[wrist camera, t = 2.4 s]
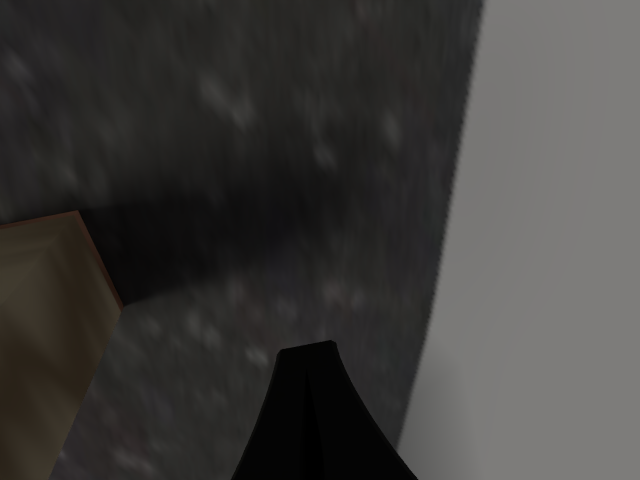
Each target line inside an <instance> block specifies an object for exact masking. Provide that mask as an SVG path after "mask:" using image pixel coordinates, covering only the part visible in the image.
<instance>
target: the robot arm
mask: <svg viewBox="0 0 640 480" xmlns="http://www.w3.org/2000/svg"><path fill="white" fill-rule="evenodd" d="M231 480H418V479H417V477H416V476H415V475H414V474H413V473H412V471H411V470H410V469H409V468H408V467H407V465H406V464H405V463H404V461H403V460H402V459H401V458H400V456H399V455H398V454H397V452H396V451H395V450H394V448H393V447H392V445H391V444H390V443H389V441H388V440H387V439H386V437H385V436H384V434H383V433H382V431H381V430H380V428H379V427H378V425H377V424H376V422H375V421H374V419H373V418H372V416H371V415H370V413H369V412H368V410H367V408H366V407H365V405H364V403H363V402H362V400H361V398H360V396H359V395H358V393H357V391H356V390H355V388H354V386H353V384H352V382H351V380H350V378H349V376H348V374H347V372H346V370H345V368H344V365H343V363H342V361H341V358H340V355H339V352H338V349H337V344H336V343H335V342H334V341H332V340H329V341H323V342H318V343H313V344H308V345H302V346H297V347H292V348H287V349H282V350H280V351H279V353H278V354H277V358H276V363H275V367H274V371H273V374H272V378H271V381H270V385H269V388H268V391H267V394H266V397H265V400H264V403H263V405H262V408H261V411H260V414H259V416H258V419H257V422H256V424H255V427H254V430H253V432H252V434H251V437H250V439H249V441H248V444H247V446H246V448H245V450H244V453H243V455H242V457H241V460H240V462H239V464H238V466H237V468H236V470H235V472H234V475H233V477H232V479H231Z"/></svg>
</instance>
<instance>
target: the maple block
mask: <svg viewBox="0 0 640 480" xmlns="http://www.w3.org/2000/svg"><path fill="white" fill-rule="evenodd" d="M123 307H124V306H123V303H122V301H121V299H120V297H119V295H118V293H117V291H116V289H115V287H114V285H113V283H112V280H111V278H110V276H109V274H108V272H107V270H106V268H105V266H104V264H103V262H102V259H101V257H100V255H99V253H98V251H97V249H96V247H95V245H94V243H93V241H92V239H91V236H90V234H89V232H88V230H87V228H86V226H85V224H84V222H83V220H82V218H81V215H80V213H79V211H78V210H76V211H71V212H66V213H61V214H56V215H51V216H46V217H40V218H35V219H30V220H25V221H20V222H15V223H10V224H5V225H0V480H48V478H49V476H50V474H51V472H52V469H53V467H54V465H55V462H56V460H57V458H58V456H59V453H60V451H61V449H62V446H63V444H64V442H65V440H66V437H67V435H68V433H69V430H70V428H71V426H72V424H73V421H74V419H75V417H76V414H77V412H78V410H79V408H80V405H81V403H82V401H83V399H84V396H85V394H86V392H87V389H88V387H89V385H90V383H91V380H92V378H93V376H94V373H95V371H96V369H97V367H98V364H99V362H100V360H101V357H102V355H103V353H104V351H105V348H106V346H107V344H108V341H109V339H110V337H111V335H112V332H113V330H114V328H115V325H116V323H117V321H118V319H119V316H120V314H121V312H122V310H123Z"/></svg>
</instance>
